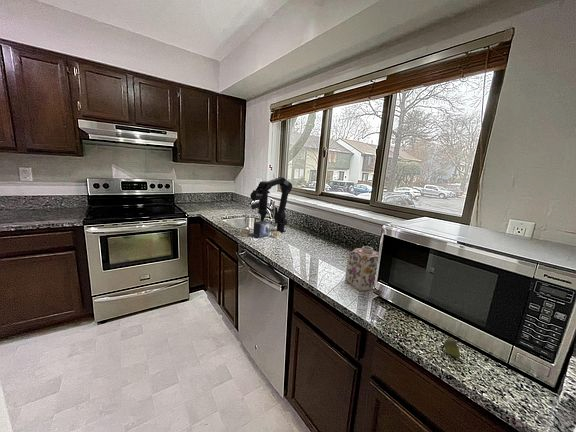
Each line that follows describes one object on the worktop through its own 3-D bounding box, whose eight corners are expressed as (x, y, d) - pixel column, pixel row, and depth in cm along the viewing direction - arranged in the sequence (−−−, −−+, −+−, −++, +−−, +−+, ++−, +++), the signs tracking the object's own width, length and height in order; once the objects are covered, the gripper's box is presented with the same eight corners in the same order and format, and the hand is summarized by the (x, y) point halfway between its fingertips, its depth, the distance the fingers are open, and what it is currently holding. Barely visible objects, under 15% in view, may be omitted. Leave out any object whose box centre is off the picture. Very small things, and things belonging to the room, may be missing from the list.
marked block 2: (275, 236, 182) (275, 230, 181) (279, 237, 180) (280, 231, 179) (272, 237, 178) (272, 231, 177) (276, 238, 176) (277, 232, 175)
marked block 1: (245, 234, 179) (245, 229, 178) (249, 235, 177) (250, 230, 176) (241, 235, 176) (242, 229, 175) (246, 236, 174) (246, 231, 173)
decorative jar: (380, 289, 111) (387, 251, 107) (359, 291, 106) (365, 252, 103) (364, 277, 122) (369, 243, 118) (344, 279, 117) (349, 243, 114)
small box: (259, 238, 172) (260, 224, 170) (252, 236, 175) (253, 222, 173) (269, 236, 180) (270, 222, 178) (262, 234, 184) (263, 220, 182)
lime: (448, 347, 76) (451, 333, 75) (464, 359, 71) (468, 343, 70) (438, 350, 74) (441, 336, 73) (454, 362, 69) (458, 347, 68)
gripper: (252, 197, 181) (251, 217, 184) (251, 200, 163) (249, 223, 165) (267, 198, 182) (266, 218, 185) (268, 201, 164) (266, 224, 167)
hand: (262, 221), depth 175 cm, fingers closed
